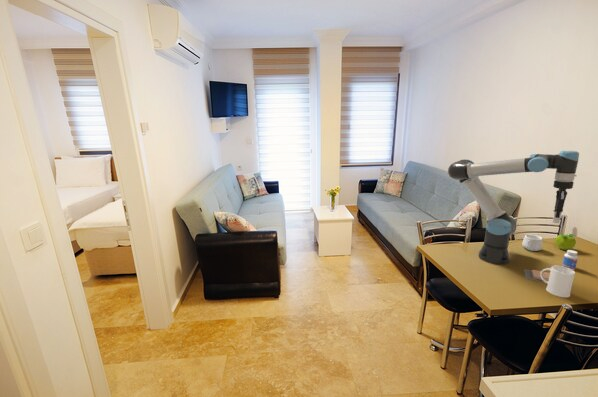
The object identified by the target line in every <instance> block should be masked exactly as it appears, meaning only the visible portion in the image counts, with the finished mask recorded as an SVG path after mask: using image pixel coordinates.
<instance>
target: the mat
mask: <svg viewBox="0 0 598 397" xmlns="http://www.w3.org/2000/svg"><path fill="white" fill-rule="evenodd" d="M523 271H524V278H525V279H527V280H532V281H537V282H541V283H545V282H544V281H543V280H539V279H535V278H533V277H532V269H531V270H530V269H525V268H524V269H523Z"/></svg>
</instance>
